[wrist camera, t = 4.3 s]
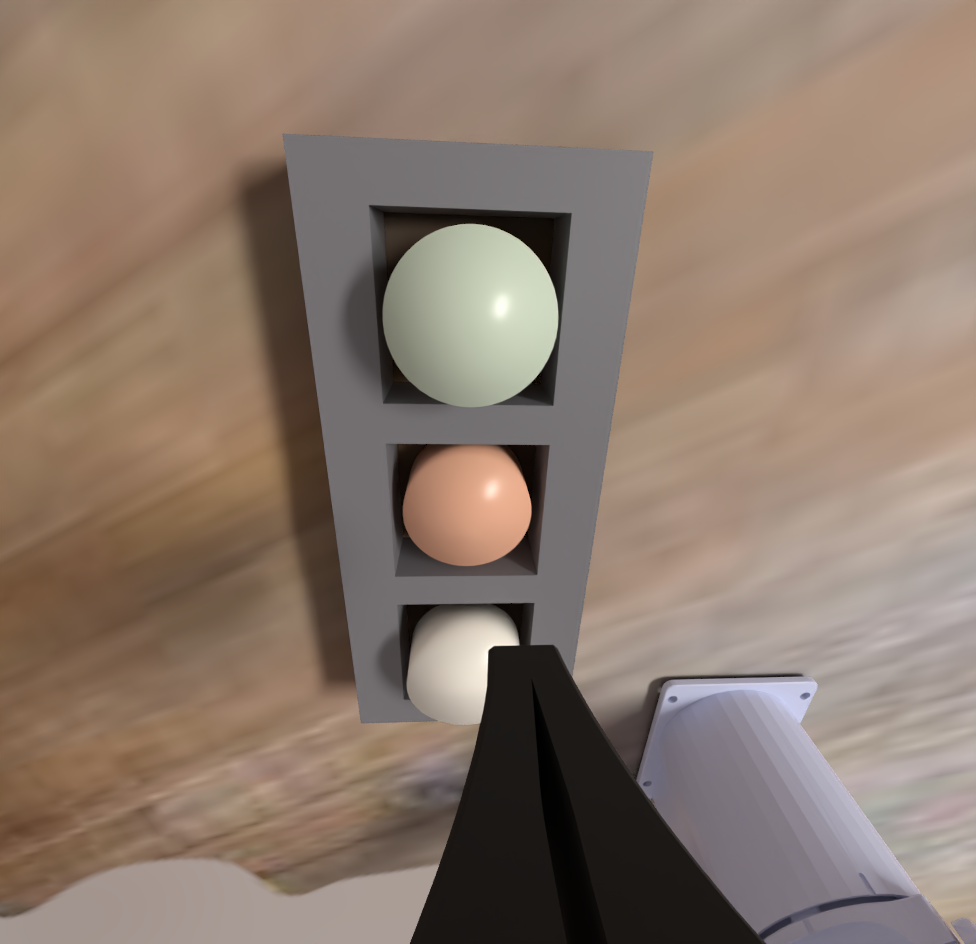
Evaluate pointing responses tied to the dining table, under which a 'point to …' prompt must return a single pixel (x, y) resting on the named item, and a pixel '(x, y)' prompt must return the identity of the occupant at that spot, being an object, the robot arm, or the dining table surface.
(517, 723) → the robot arm
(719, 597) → the dining table surface
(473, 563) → the terracotta button
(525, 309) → the sage button
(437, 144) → the button board
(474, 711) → the cream button
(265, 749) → the dining table surface
